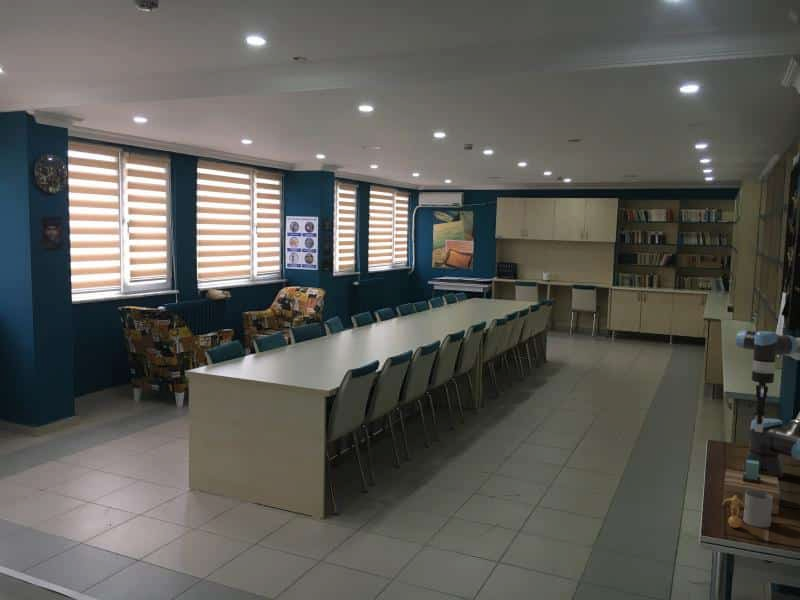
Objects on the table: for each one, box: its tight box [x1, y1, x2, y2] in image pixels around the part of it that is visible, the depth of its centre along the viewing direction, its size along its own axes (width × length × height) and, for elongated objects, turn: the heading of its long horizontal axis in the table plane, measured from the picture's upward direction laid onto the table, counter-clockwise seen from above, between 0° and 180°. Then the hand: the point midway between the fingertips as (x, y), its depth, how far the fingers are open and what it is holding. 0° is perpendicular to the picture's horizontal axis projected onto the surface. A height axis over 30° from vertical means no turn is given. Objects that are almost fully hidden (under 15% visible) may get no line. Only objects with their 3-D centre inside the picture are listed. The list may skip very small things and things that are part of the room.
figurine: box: [721, 495, 749, 529], centre depth 229 cm, size 8×6×12 cm
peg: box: [746, 460, 759, 480], centre depth 253 cm, size 4×4×8 cm
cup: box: [742, 490, 773, 528], centre depth 234 cm, size 8×8×10 cm
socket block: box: [722, 468, 781, 515], centre depth 253 cm, size 18×18×9 cm
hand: (758, 431), depth 261 cm, fingers closed
